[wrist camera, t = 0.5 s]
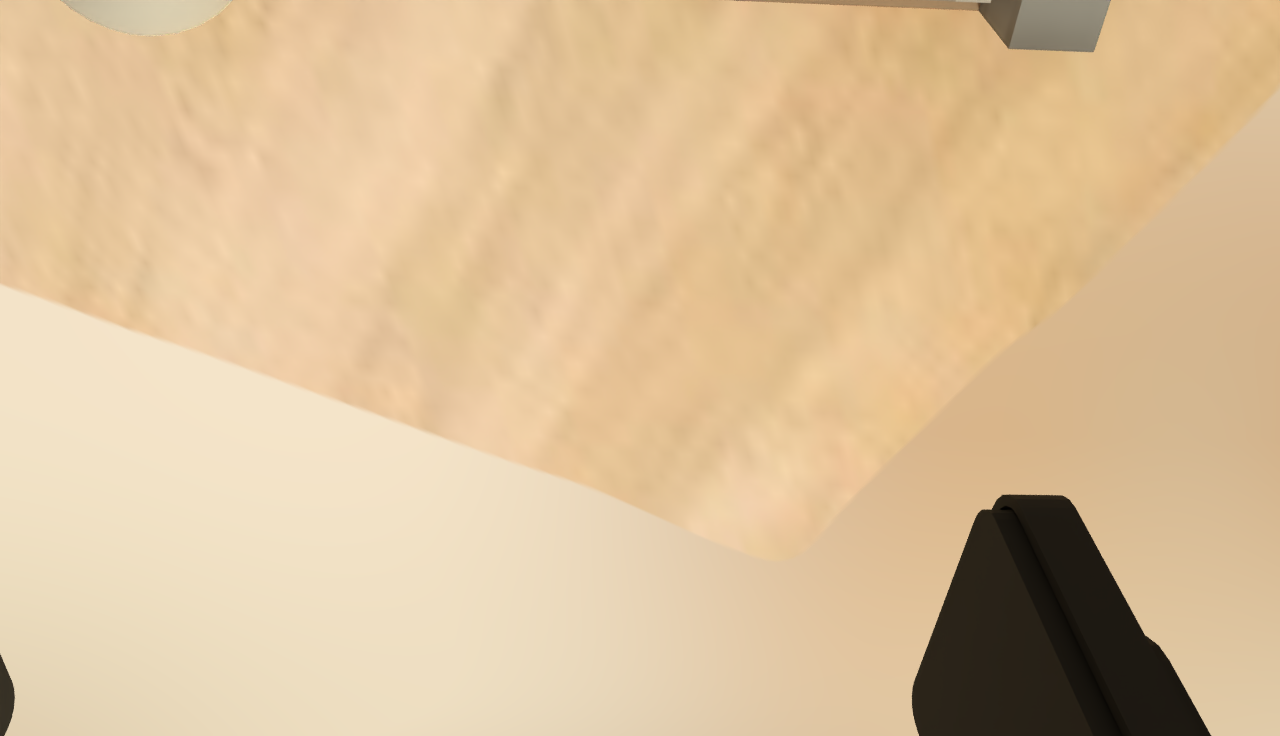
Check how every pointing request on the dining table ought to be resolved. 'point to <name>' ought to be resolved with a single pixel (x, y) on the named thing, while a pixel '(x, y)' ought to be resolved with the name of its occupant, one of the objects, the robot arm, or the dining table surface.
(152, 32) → the lightbulb
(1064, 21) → the compartment tray
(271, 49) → the dining table surface
